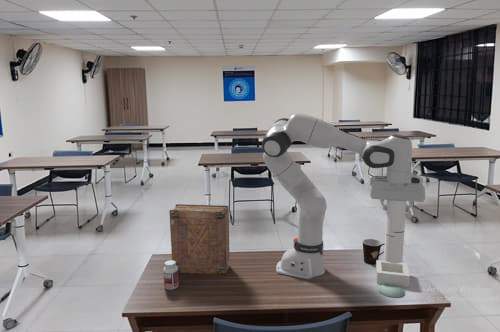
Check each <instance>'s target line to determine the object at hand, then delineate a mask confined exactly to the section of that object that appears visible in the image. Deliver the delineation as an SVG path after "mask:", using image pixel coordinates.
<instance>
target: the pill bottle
mask: <svg viewBox="0 0 500 332" xmlns="http://www.w3.org/2000/svg"><path fill="white" fill-rule="evenodd" d="M162 270H163V271H162V272H163V284H164V289H166V290H175V289H177V288H178V287H179V286H180V281H179V280H180V279H179V273H178V267H177V266H176V262H175V261H174V260H172V259H170V260H167V261H165V262H164V267H163V269H162Z"/></svg>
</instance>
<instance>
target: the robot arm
mask: <svg viewBox="0 0 500 332" xmlns="http://www.w3.org/2000/svg"><path fill="white" fill-rule="evenodd" d="M296 141H298V142H302V143H305V144H307V145H309V146H312V147H315V148H319V149H329V148H341V149H345V150H348V151H351V152H354V153H356V154H359V155H360V156H361V157H362V158H363V162H364V164H365V165H366V166H367V167H369V168H372V169H382V168H386V175H374V176H372V177H371V178H370V179H369V185H370V186H371V187H370V192H369V196H370V198H371V199H372V200H379V201H380V204H381V205H382V211H386V210H387V204H385V201H387V200H399V201H406V202H408V203H409V204H408V205H407V206H406V213H407V212H408V213H410V212H411V209H412V207H413V205H414V202H415V203H423V202H424V201H426V188H425V185H424V184H423V183H424V178H423V177H422V176H421V175H420V174H417V173H414V172H412V168H411V162H412V160H413V143H412V141H411V139H410V138H408V136H404V135H402V134H401V135H400V134H392V135H390V136H389V137H387V138H385V139H382V140H380V139H378V138H377V139H375V138H374V139H366V138H365V139H364V138H361V137H359V136H355V135H353V134H350V133H347V132H344V130H341V129H339V128H338V127H336V126H334V125H333V124H331V123H329V122H327V121H325V120H323V119H321V118H318V117H315V116H312V115H309V114H303V113H294V114H292V115H291V116H290V117H289V118H286V117H283V118H282V117H281V118H279V119H277V120H275V121H274V123H273V124H272V125H271V126H270V127H269V129H268V130H267V132H266V134H265V135H264V136H263V138H262V141H261V149H262V151H263V154H262V159H263V162H264V164H265V165H266V167H267V169H268V170H269V171H270V173H271V174H272V175H273V176H274V178H275V179H276V180H277V182H278V183H280V185H281V186H282V188H284V189H285V191H287V193H288V194H289V195H290V196H291V197H292V198H293V199H294V200H295V201H296V202H297V204H298V205H299V210H300V211H299V218H298V219H299V220H298V224H297V236H295V237H294V239H293V246H292V248H289V249H287V250H286V251H285V252H284V253H283V254H282V256H281V259H280V260H279V261H278V262H277V264H276V267H275V271H276V272H277V274H282V275H286V276H291V277H294V278H295V277H296V278H299V279H304V280H310V279H312V278H315V277H319V276H322V275H324V274H325V272H326V268H325V264H324V256H323V254H324V240H323V235H324V234H323V233H324V232H323V230H324V229H323V228H324V220H325V215H326V211H327V200H326V198H325V196H324V195H323V194H322V193H321V191H320V190H319V188H318V187H317V186H316V185H315V184H314V182H313V181H312V180H311V179H310V177H308V175H307V174H306V173H305V172H304V171H303V169H302V168H301V167H300V165H298V164H297V162H296V161H295V160H294V159H293V158H292V156H291V155H290V154H289V152H288V150H289V148H290V147H291V145H292V143H293V142H296Z"/></svg>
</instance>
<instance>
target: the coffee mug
mask: <svg viewBox="0 0 500 332" xmlns="http://www.w3.org/2000/svg"><path fill="white" fill-rule="evenodd" d="M384 244H385V243H382V242H381V241H380V240H378V239H375V238H374V239H373V238H366V239H363V240H362V248H363V249H362V251H363V262H364V264H366V265H371V266H376V260H380V256H381V255H384V250H383V251H382V252H381V247H382V246H384Z"/></svg>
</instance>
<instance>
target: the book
mask: <svg viewBox="0 0 500 332" xmlns="http://www.w3.org/2000/svg"><path fill="white" fill-rule="evenodd" d="M229 211H230V209H229V205H217V204H215V205H214V204H213V205H212V204H185V203H184V204H182V203H176V204H175V207H174V208H173V209H169V226H170V246H171V249H170V250H171V260H174V261H175V262H176V266H177V267H178V274H194V273H198V275H199V274H200V275H217V276H218V275H219V276H226V275H227V272H228V270H229V268H230V261H231V257H230V218H229V216H230V212H229Z"/></svg>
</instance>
